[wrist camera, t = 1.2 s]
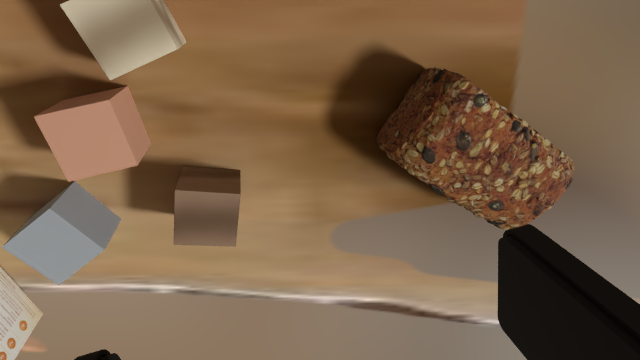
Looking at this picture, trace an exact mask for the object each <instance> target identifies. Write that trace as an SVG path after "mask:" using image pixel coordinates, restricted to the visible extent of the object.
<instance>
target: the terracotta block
mask: <svg viewBox="0 0 640 360" xmlns="http://www.w3.org/2000/svg"><path fill="white" fill-rule="evenodd" d="M34 118H35V120H36V122H37V124H38V126H39V128H40V130H41V131H42V133H43V135H44V137H45V139H46V141H47V143H48V145H49V146H50V148H51V150H52V152H53V154H54V156H55V158H56V160H57V161H58V163H59V165H60V167H61V169H62V171H63V173H64V175H65V176H66V178H67V180H68V182H70V181H74V180H78V179H83V178H87V177H91V176H95V175H99V174H104V173H108V172H112V171H116V170H120V169H125V168H129V167H133V166H137V165H138V164H139V162H140V161H141V159H142V158H143V156H144V154H145V153H146V151H147V149H148V148H149V146H150V145H151V142H150V140H149V137H148V135H147V132H146V130H145V127H144V125H143V122H142V120H141V117H140V115H139V113H138V110H137V108H136V105H135V103H134V100H133V98H132V95H131V93H130V90H129V88H128V86H125V87H120V88H116V89H111V90H106V91H102V92H97V93H93V94H88V95H84V96H79V97H74V98H70V99H65V100H62V101H61V102H59V103H57V104H55V105H53V106H52V107H50V108H48V109H46V110H44V111H43V112H41V113H39V114H37V115H36V116H34Z"/></svg>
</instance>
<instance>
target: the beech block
mask: <svg viewBox="0 0 640 360" xmlns="http://www.w3.org/2000/svg"><path fill="white" fill-rule="evenodd" d="M60 6H61V7H62V9H63V10H64V12H65V13H66V15H67V16H68V18H69V19H70V21H71V22H72V24H73V25H74V27H75V28H76V30H77V31H78V33H79V34H80V36H81V37H82V39H83V40H84V42H85V43H86V45H87V46H88V48H89V49H90V51H91V52H92V54H93V55H94V57H95V58H96V60H97V61H98V63H99V64H100V66H101V67H102V69H103V70H104V72H105V73H106V75H107V76H108V78H109V79H110V80H112V79H114V78H116V77H119V76H121V75H123V74H125V73H127V72H129V71H132V70H134V69H136V68H138V67H140V66H142V65H144V64H147V63H149V62H151V61H153V60H155V59H157V58H160V57H162V56H164V55H166V54H168V53H170V52H172V51H175V50H177V49H179V48H180V47H181V46H182V45H184V44H185V43H186V40H185V38H184V36H183V34H182V33H181V31H180V29H179V27H178V25H177V24H176V22H175V20H174V18H173V16H172V14H171V13H170V11H169V9H168V7H167V5H166V3H165V2H164V0H69V1H67V2H65V3H62V4H60Z"/></svg>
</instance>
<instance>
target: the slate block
mask: <svg viewBox="0 0 640 360" xmlns="http://www.w3.org/2000/svg"><path fill="white" fill-rule="evenodd" d="M120 220H121V218H119V217H118V216H117V215H116V214H114V213H113V212H112V211H111V210H109V209H108V208H107V207H106V206H105V205H103V204H102V203H101V202H100V201H98V200H97V199H96V198H95V197H94V196H92V195H91V194H90V193H89V192H87V191H86V190H85V189H84V188H82V187H81V186H80V185H79V184H78V183H76V182H75V181H74V182H73V183H72V184H71V185H69V186H68V187H67V188H66V189H64V190H63V191H62V192H61V193H59V194H58V195H57V196H56V197H54V198H53V199H52V200H51V201H50V202H48V203H47V204H46V205H45V206H43V207H42V208H41V209H40V210H38V211H37V212H36V213H35V214H33V215H32V216H31V217H30V218H29V219H28V220H27V221H26V223H25V224H24V225H23V226H22V227H21V228H20V229H19V230H18V231H17V232H16V233H15V234H14V235H13V236H12V237H11V238H10V239H9V240H8V241H7V242H6V243H5V244H4V245H3V246H2V248H4V249H5V250H7V251H8V252H10V253H11V254H13V255H14V256H16V257H17V258H19V259H20V260H22V261H23V262H25V263H26V264H28V265H29V266H31V267H32V268H34V269H35V270H37V271H38V272H40V273H41V274H43V275H44V276H46V277H47V278H49V279H50V280H52V281H53V282H55V283H56V284H58V285H60V284H61V283H62V282H64V281H65V280H66V279H68V278H69V277H70V276H71V275H73V274H74V273H75V272H77V271H78V270H79V269H81V268H82V267H83V266H84V265H86V264H87V263H88V262H90V261H91V260H92V259H93V258H95V257H96V256H97V255H99V254H100V253H101V252H102V251H104V250H105V248H106V246H107V244H108V243H109V241H110V239H111V237H112V235H113V233H114V232H115V230H116V228H117V226H118V224H119V222H120Z"/></svg>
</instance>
